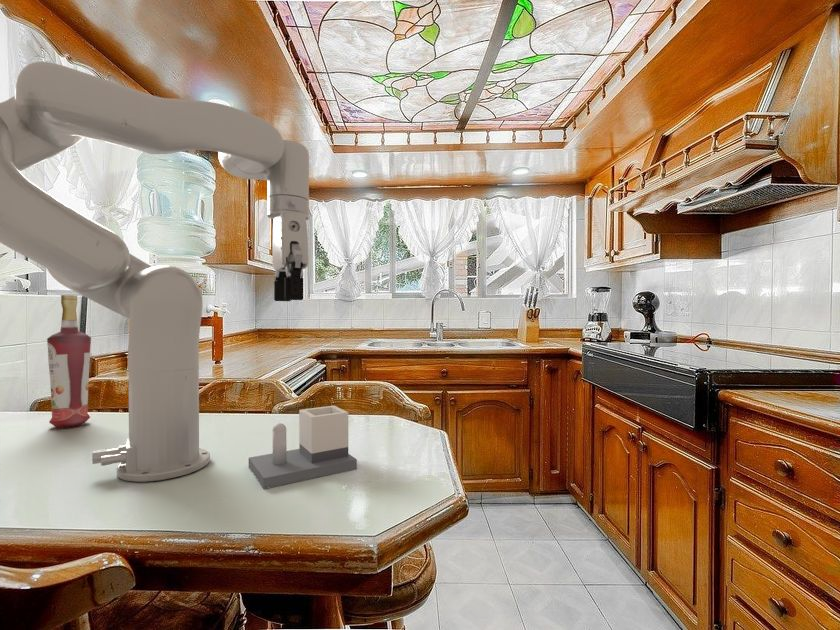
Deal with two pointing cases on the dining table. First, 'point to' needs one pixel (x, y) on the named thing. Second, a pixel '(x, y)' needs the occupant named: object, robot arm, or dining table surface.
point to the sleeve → (323, 433)
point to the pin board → (293, 464)
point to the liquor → (69, 369)
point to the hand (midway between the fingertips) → (288, 300)
